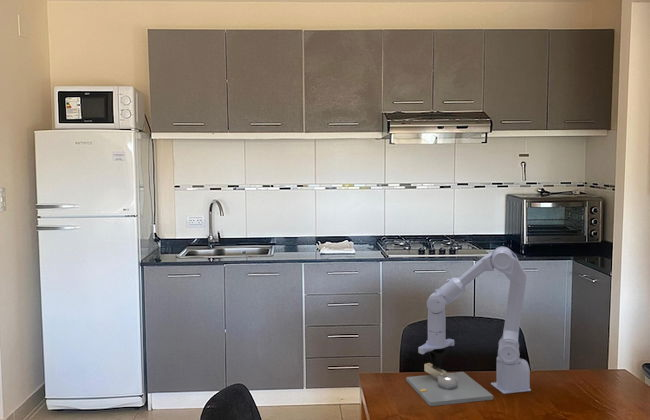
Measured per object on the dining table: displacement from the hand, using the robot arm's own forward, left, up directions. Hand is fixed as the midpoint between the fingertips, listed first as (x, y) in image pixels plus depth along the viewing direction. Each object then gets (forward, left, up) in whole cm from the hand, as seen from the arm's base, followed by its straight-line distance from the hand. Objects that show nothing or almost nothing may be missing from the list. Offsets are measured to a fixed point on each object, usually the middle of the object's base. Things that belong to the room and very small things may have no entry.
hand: (436, 371), depth 178 cm
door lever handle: (+1, +4, -2) cm, 5 cm away
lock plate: (0, +8, -3) cm, 9 cm away
